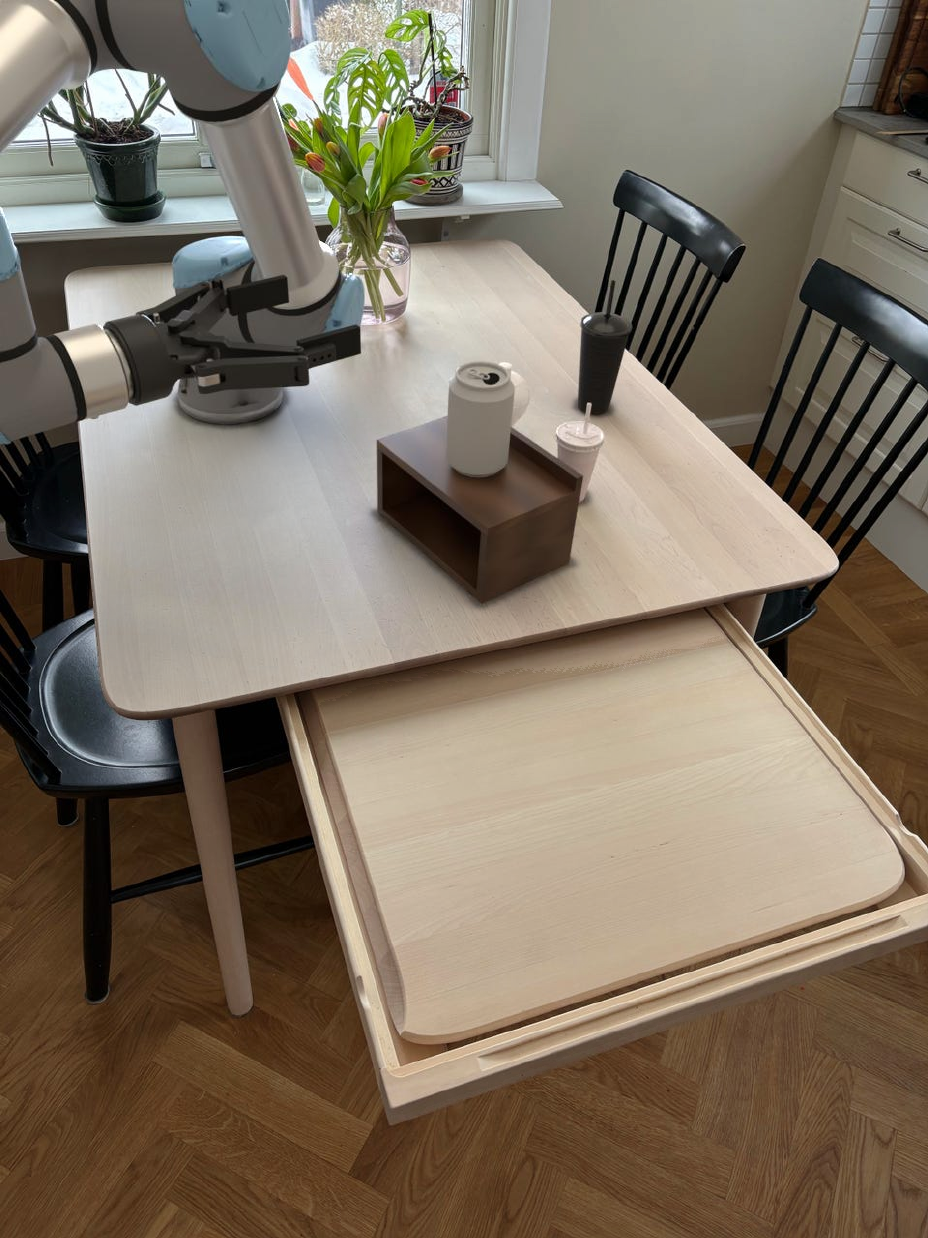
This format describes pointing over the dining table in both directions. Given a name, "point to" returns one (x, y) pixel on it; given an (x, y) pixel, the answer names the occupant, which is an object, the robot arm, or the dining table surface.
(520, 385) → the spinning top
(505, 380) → the can
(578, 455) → the smoothie
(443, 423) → the shelf
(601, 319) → the drinking cup
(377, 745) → the dining table surface
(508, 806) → the dining table surface
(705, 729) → the dining table surface
